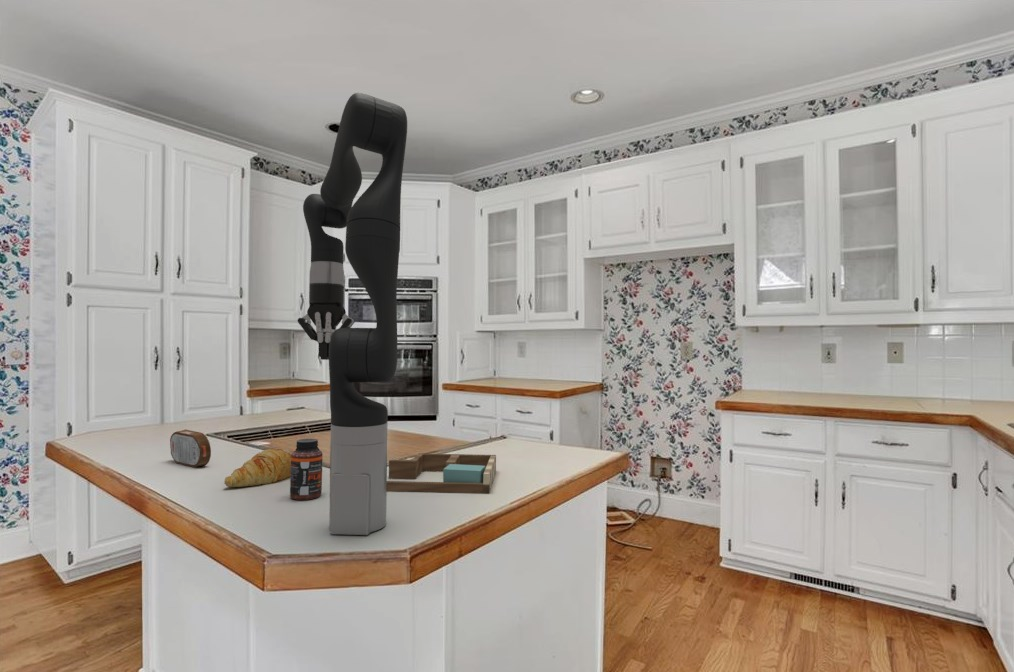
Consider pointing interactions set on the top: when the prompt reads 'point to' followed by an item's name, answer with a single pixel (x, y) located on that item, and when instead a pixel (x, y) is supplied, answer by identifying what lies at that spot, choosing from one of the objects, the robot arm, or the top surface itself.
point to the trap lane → (438, 463)
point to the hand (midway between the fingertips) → (325, 359)
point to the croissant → (262, 469)
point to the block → (463, 473)
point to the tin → (190, 448)
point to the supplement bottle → (306, 470)
